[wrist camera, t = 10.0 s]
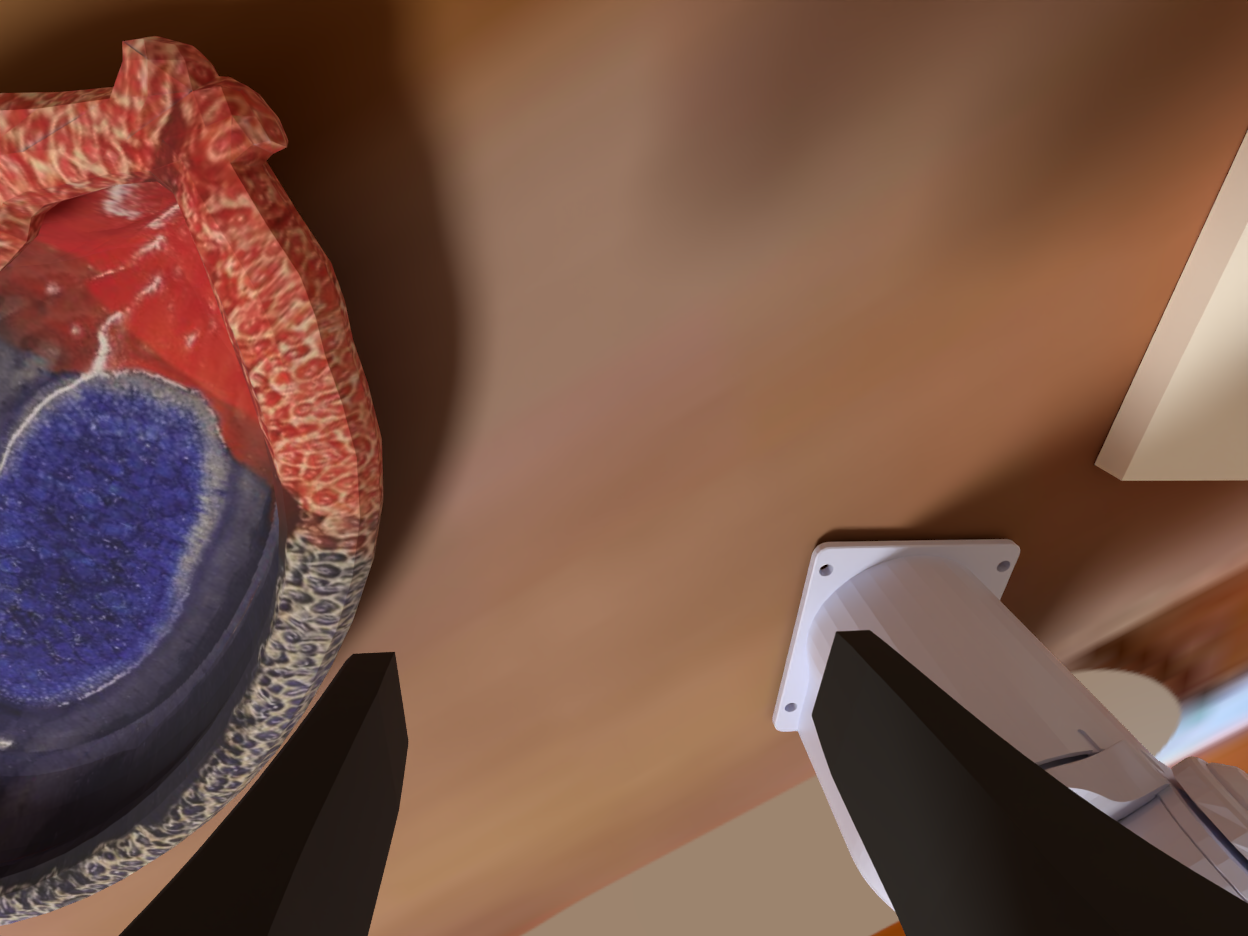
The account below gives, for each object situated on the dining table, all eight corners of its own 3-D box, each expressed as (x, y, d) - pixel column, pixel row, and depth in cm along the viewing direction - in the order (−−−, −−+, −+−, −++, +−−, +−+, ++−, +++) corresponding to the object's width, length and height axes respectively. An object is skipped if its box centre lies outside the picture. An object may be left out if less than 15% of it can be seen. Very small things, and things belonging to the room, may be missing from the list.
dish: (-317, 740, 21) (-539, 896, 17) (-33, -171, 12) (-357, -343, 8) (155, 867, 27) (81, 1007, 23) (587, 313, 18) (601, 370, 14)
